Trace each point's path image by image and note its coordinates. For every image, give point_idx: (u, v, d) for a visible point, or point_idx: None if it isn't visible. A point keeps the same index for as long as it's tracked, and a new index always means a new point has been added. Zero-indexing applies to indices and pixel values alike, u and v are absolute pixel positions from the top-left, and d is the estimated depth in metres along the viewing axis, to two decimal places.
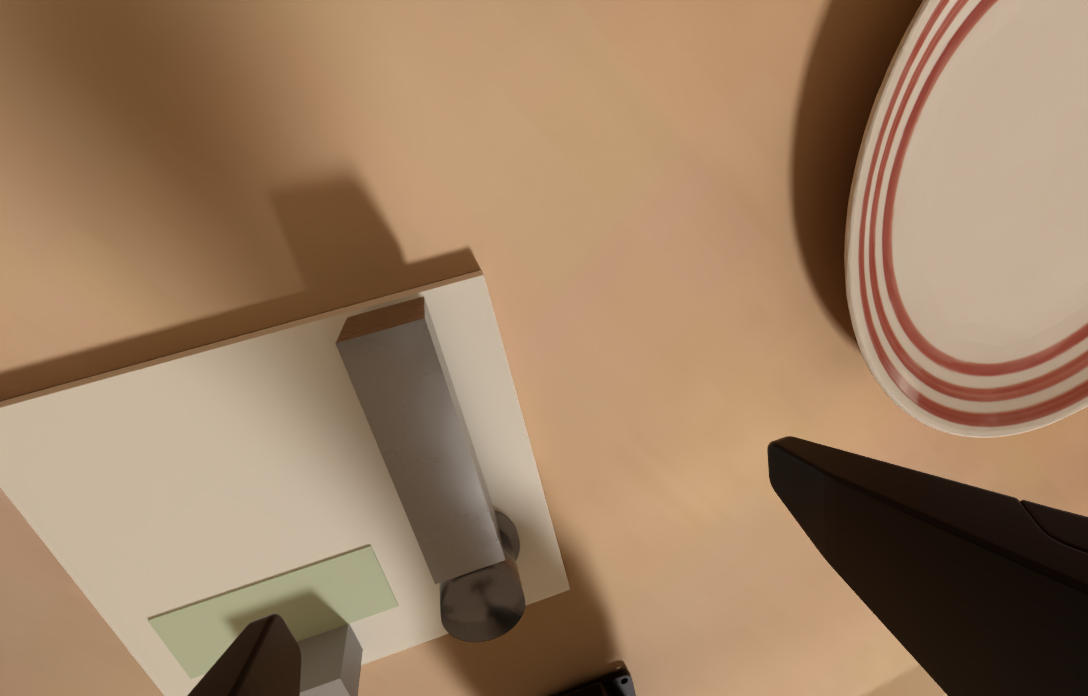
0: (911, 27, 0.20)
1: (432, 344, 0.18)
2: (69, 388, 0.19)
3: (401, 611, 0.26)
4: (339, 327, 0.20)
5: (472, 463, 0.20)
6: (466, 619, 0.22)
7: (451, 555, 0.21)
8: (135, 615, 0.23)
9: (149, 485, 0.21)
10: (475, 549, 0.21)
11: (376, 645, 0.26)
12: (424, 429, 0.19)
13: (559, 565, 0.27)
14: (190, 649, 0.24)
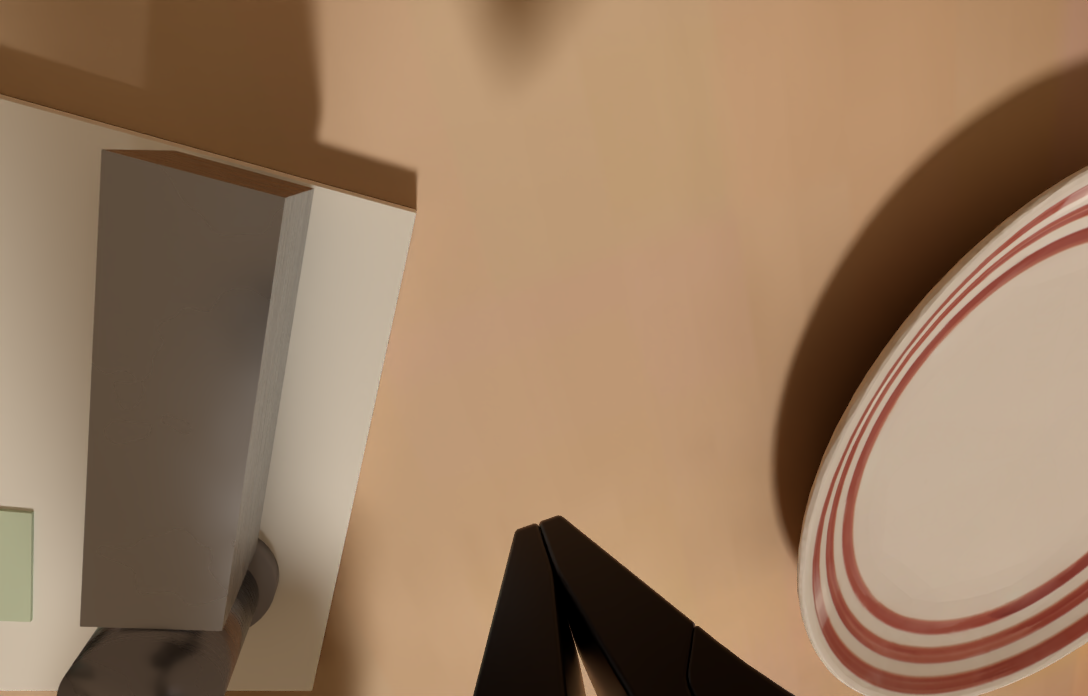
0: (1020, 213, 0.16)
1: (276, 245, 0.10)
2: None
3: (32, 631, 0.16)
4: None
5: (245, 462, 0.12)
6: None
7: (133, 590, 0.12)
8: None
9: None
10: (180, 596, 0.12)
11: None
12: (192, 371, 0.11)
13: (313, 651, 0.19)
14: None
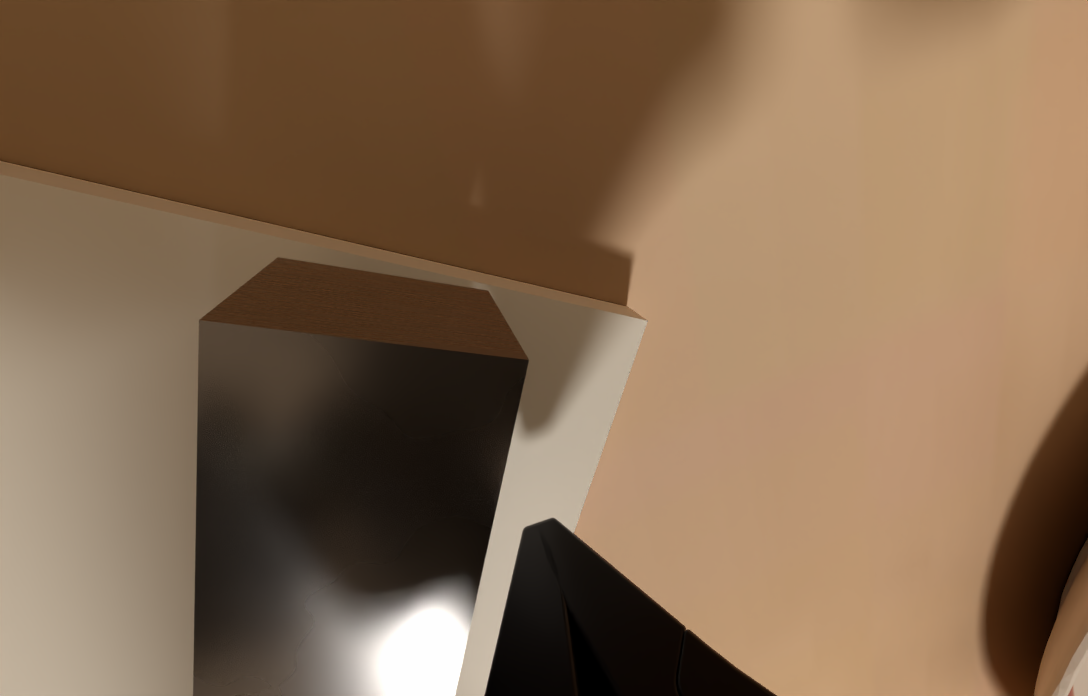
0: None
1: (508, 441, 0.06)
2: None
3: None
4: None
5: None
6: None
7: None
8: None
9: None
10: None
11: None
12: (362, 656, 0.06)
13: None
14: None
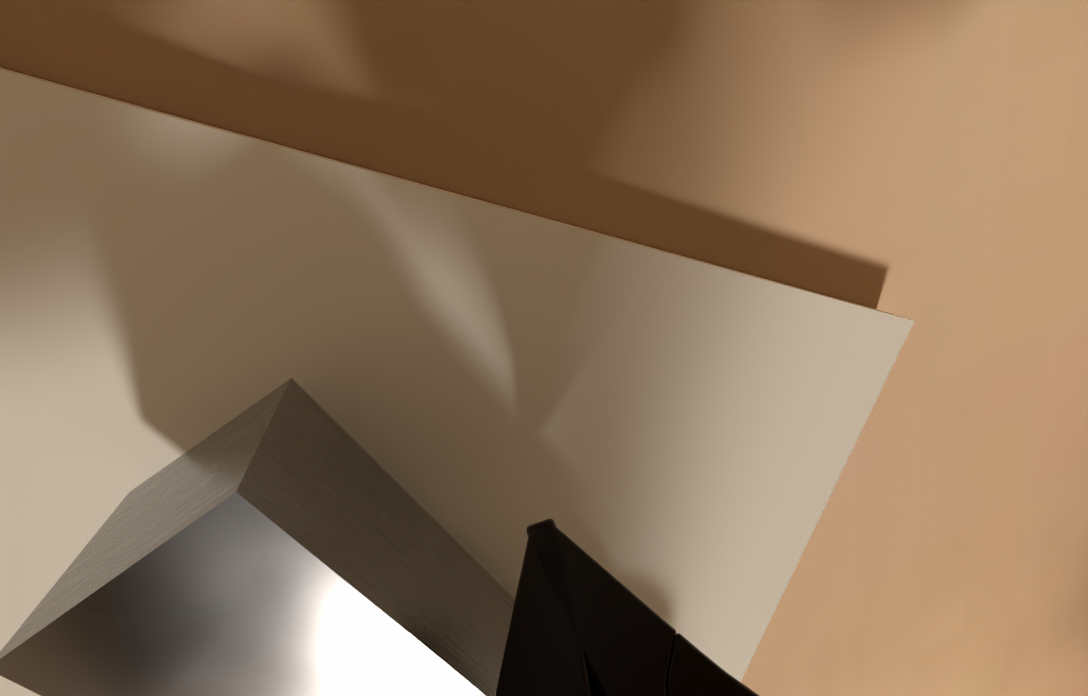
0: None
1: (301, 549, 0.06)
2: (71, 90, 0.07)
3: None
4: (687, 286, 0.10)
5: None
6: None
7: None
8: None
9: (105, 417, 0.08)
10: None
11: None
12: None
13: None
14: None
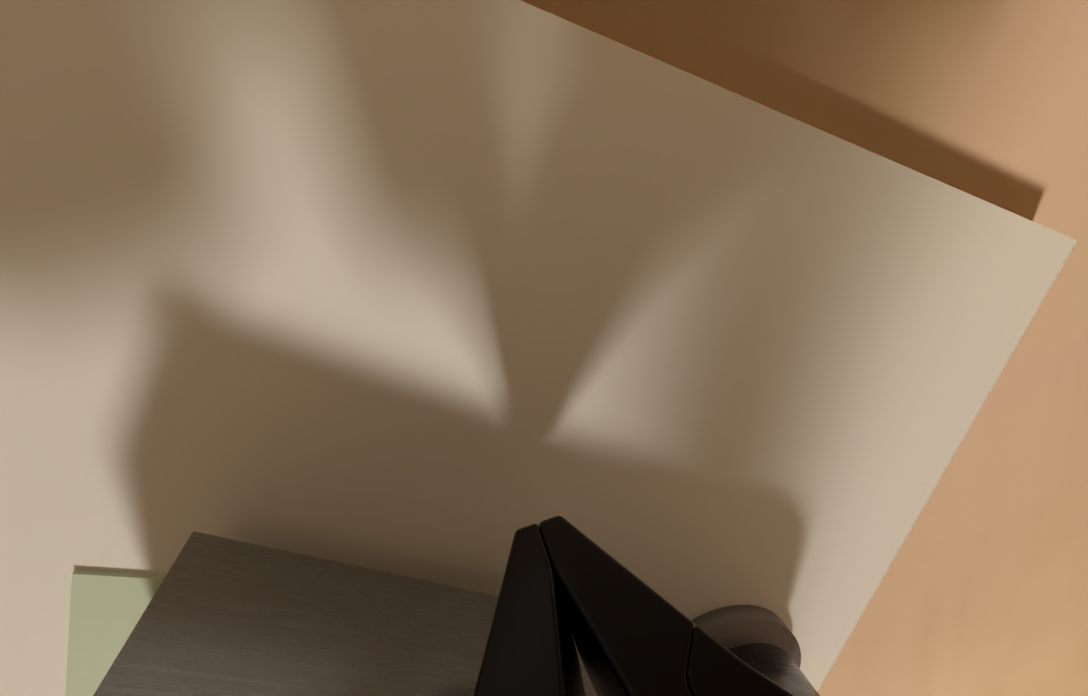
0: None
1: None
2: None
3: None
4: (868, 182, 0.10)
5: None
6: None
7: None
8: (52, 549, 0.09)
9: (325, 271, 0.08)
10: None
11: None
12: None
13: None
14: None
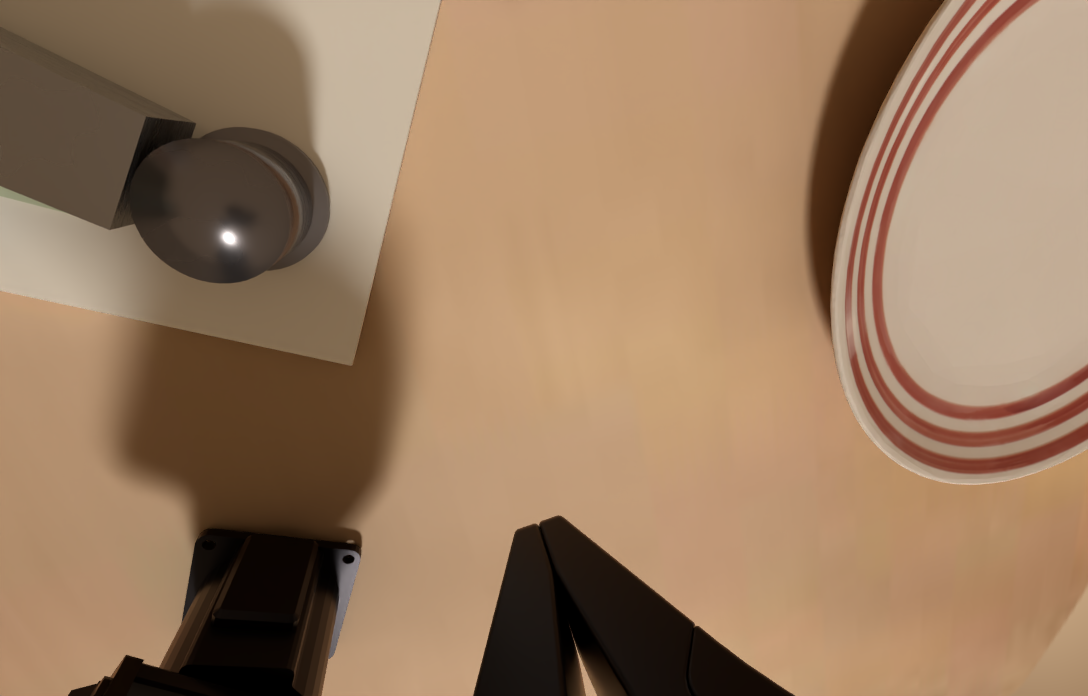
0: None
1: None
2: None
3: (87, 233, 0.16)
4: None
5: None
6: (209, 245, 0.13)
7: (66, 169, 0.12)
8: None
9: None
10: (83, 133, 0.12)
11: (14, 264, 0.16)
12: None
13: (357, 317, 0.19)
14: None
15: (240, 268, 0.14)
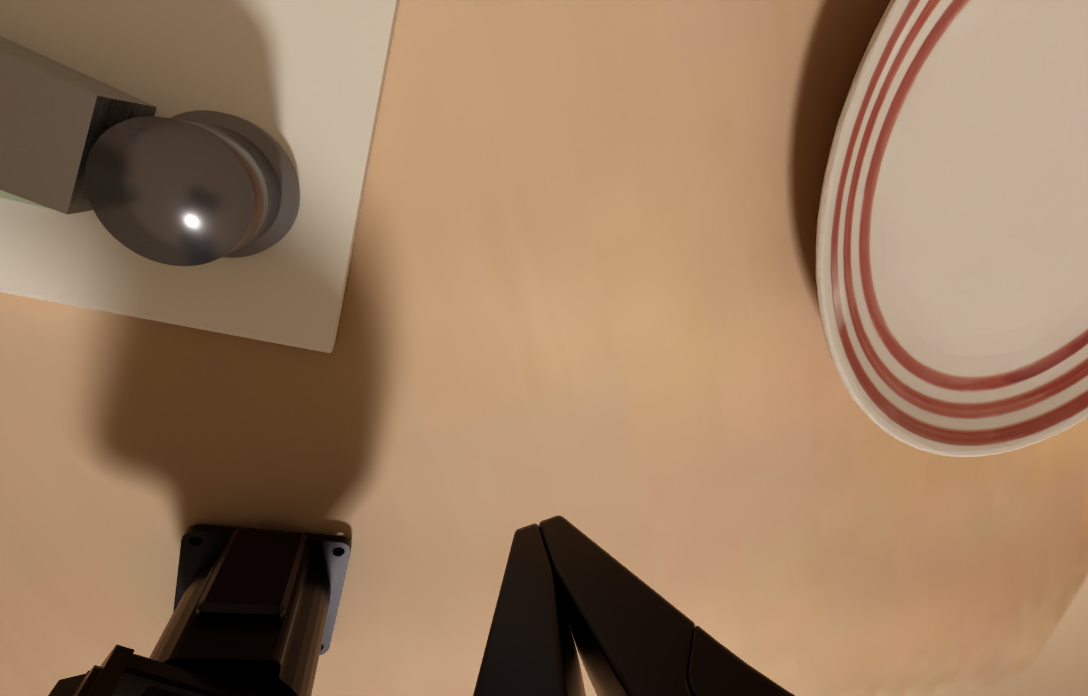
0: None
1: None
2: None
3: (53, 224, 0.16)
4: None
5: None
6: (170, 227, 0.13)
7: (19, 152, 0.12)
8: None
9: None
10: (34, 114, 0.12)
11: None
12: None
13: (333, 303, 0.19)
14: None
15: (203, 250, 0.13)
